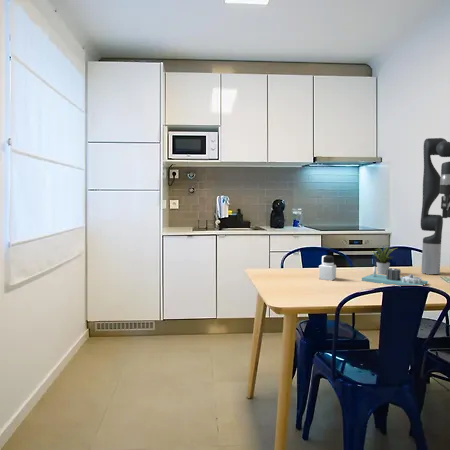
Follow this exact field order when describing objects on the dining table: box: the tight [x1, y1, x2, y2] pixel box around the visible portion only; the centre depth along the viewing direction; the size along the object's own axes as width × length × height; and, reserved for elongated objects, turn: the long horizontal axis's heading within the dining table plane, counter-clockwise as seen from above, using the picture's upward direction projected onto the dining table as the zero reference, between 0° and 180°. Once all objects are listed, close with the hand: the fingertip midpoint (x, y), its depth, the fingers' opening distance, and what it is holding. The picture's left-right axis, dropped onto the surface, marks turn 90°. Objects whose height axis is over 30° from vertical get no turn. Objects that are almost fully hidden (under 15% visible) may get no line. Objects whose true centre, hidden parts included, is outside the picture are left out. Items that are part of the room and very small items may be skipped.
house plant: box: [371, 245, 397, 275], centre depth 227 cm, size 14×14×16 cm
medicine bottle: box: [318, 254, 337, 281], centre depth 210 cm, size 7×7×12 cm
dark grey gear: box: [386, 267, 401, 281], centre depth 203 cm, size 6×6×5 cm
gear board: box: [361, 266, 429, 286], centre depth 203 cm, size 15×27×7 cm, turn 48°
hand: (447, 217), depth 196 cm, fingers open, 8 cm apart
